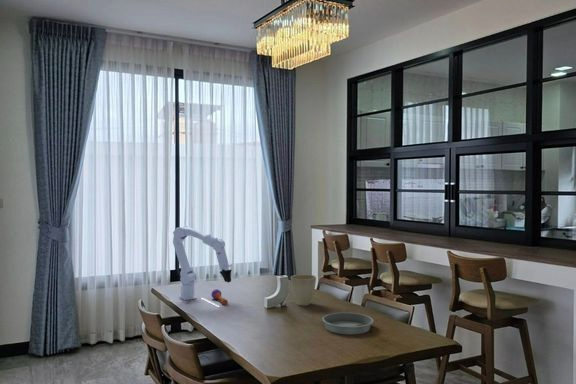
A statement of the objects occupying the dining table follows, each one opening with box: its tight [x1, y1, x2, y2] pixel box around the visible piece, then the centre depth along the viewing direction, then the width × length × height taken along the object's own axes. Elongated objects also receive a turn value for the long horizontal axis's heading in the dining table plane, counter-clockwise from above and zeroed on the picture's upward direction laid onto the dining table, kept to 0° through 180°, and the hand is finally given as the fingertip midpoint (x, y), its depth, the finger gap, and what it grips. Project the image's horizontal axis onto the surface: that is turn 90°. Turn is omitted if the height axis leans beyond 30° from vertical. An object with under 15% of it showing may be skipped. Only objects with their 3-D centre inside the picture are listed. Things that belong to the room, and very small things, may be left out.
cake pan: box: [321, 312, 374, 335], centre depth 235 cm, size 25×25×4 cm
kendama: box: [210, 288, 229, 306], centre depth 289 cm, size 6×6×20 cm
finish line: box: [200, 297, 221, 308], centre depth 286 cm, size 26×2×1 cm, turn 32°
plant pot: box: [290, 274, 317, 307], centre depth 281 cm, size 15×15×16 cm
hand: (228, 281), depth 289 cm, fingers open, 7 cm apart
